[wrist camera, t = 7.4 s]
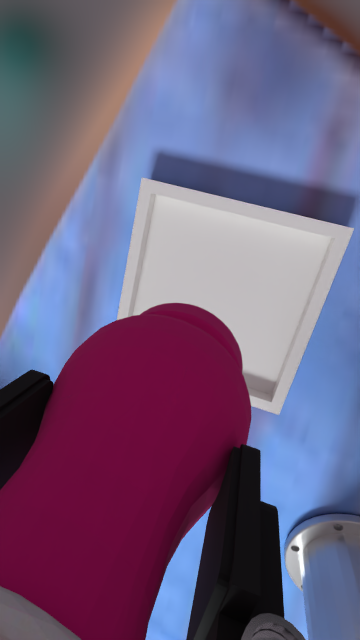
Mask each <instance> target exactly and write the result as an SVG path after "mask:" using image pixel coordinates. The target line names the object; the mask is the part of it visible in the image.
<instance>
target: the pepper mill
mask: <svg viewBox="0 0 360 640" xmlns="http://www.w3.org/2000/svg"><path fill="white" fill-rule="evenodd" d="M242 371H243V363H242V355H241V351H240V348H239V345H238V343H237V341H236V339H235V337H234V336H233V334H232V332H231V331H230V329H229V328H228V327H227V326H226V325H225V324H224V323H223V322H222V321H221V320H220V319H219V318H217V317H216V316H215V315H214V314H212V313H210V312H209V311H207V310H205V309H203V308H200V307H198V306H194V305H191V304H185V303H164V304H160V305H157V306H154V307H151V308H149V309H148V310H146V311H144V312H142V313H141V314H140V315H134V316H130V317H126V318H123V319H119V320H116V321H114V322H112V323H110V324H108V325H106V326H104V327H102V328H100V329H99V330H98V331H97V332H95V333H94V334H93V335H92V336H91V337H89V338H88V339H87V340H86V341H85V342H84V343H83V344H82V345H81V346H79V347H78V348H77V349H76V350H75V351H74V353H73V354H72V355H71V357H70V358H69V359H68V361H67V362H66V363H65V365H64V367H63V369H62V371H61V372H60V374H59V376H58V378H57V380H56V381H55V383H54V385H53V391H52V393H51V395H50V397H49V400H48V402H47V404H46V408H45V411H44V415H43V418H42V421H41V425H40V428H39V432H38V434H37V437H36V439H35V442H34V444H33V445H32V447H31V449H30V450H29V452H28V454H27V455H26V457H25V459H24V461H23V462H22V464H21V466H20V467H19V469H18V470H17V471H16V472H15V473H14V474H13V476H12V477H11V478H10V479H9V480H8V481H7V483H6V484H5V485H4V486H3V487H2V489H1V490H0V640H145V638H146V633H147V628H148V622H149V619H150V616H151V613H152V610H153V607H154V604H155V601H156V598H157V595H158V592H159V589H160V586H161V583H162V580H163V577H164V574H165V571H166V568H167V566H168V564H169V562H170V560H171V558H172V556H173V555H174V553H175V551H176V549H177V547H178V545H179V544H180V542H181V540H182V539H183V537H184V536H185V535H186V534H187V532H188V531H189V530H190V529H191V528H192V527H193V526H194V525H195V524H196V522H197V521H198V520H199V519H200V518H201V517H202V516H203V515H204V514H205V513H206V511H207V510H208V509H209V508H210V507H211V506H212V505H213V503H214V501H215V500H216V498H217V495H218V493H219V490H220V488H221V485H222V481H223V478H224V475H225V472H226V469H227V465H228V462H229V458H230V455H231V451H232V449H233V447H234V446H235V447H238V448H240V446H241V444H244V445H246V444H247V439H248V433H249V428H250V423H251V402H250V396H249V392H248V389H247V385H246V382H245V379H244V376H243V374H242Z"/></svg>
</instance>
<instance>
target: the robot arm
mask: <svg viewBox="0 0 360 640" xmlns="http://www.w3.org/2000/svg"><path fill="white" fill-rule="evenodd" d="M52 391H53V382H52V381H50V377H49V375H47V374H44V373H41V372H38V371H35V370H30V371H28V372H27V373H25V374H24V375H22V376H20V377H19V378H17V379H16V380H14V381H13V382H11V383H10V384H8V385H7V386H5V387H3V388H2V389H0V490H1V489H2V487H3V486H4V485H5V484H6V483H7V481H8V480H9V479H10V478H11V477H12V476H13V474H14V473H15V472H16V471H17V470H18V469H19V467H20V466H21V464H22V462H23V461H24V459H25V457H26V455H27V454H28V452H29V450H30V449H31V447H32V445H33V444H34V442H35V439H36V437H37V434H38V432H39V428H40V425H41V421H42V418H43V415H44V411H45V408H46V404H47V402H48V400H49V397H50V395H51V393H52ZM284 556H285V565H286V569H287V571H288V574H289V576H290V577H291V579H292V580H293V582H294V583H295V584H296V586H297V587H298V588H299V589H300V590H301V591H303V597H304V606H305V614H306V623H307V632H308V640H360V516H355V515H349V514H326V515H321V516H317V517H313V518H311V519H309V520H306V521H304V522H303V523H301V524H300V525H298V526H297V527H296V528H295V529H294V530H293V531H292V532H291V533H290V535H289V536H288V538H287V540H286V543H285V547H284ZM186 640H305V638H304V637H303V635H302V634H301V633H300V632H299V631H298V630H297V629H296V628H295V627H294V626H293V624H291V623H290V622H288V621H287V620H285V619H284V605H283V588H282V571H281V555H280V538H279V521H278V511H277V508H276V507H275V506H273V505H270V504H267V503H265V502H262V501H260V450H258V449H256V448H253V447H250V446H247V445H244V444H241V446H240V448H238V447H235V446H234V447H233V449H232V451H231V455H230V458H229V462H228V465H227V469H226V472H225V475H224V478H223V481H222V485H221V488H220V490H219V493H218V495H217V498H216V500H215V501H214V503H213V505H212V507H211V510H210V513H209V517H208V521H207V526H206V532H205V537H204V543H203V549H202V554H201V560H200V566H199V571H198V577H197V583H196V588H195V594H194V600H193V605H192V611H191V616H190V622H189V628H188V633H187V639H186Z"/></svg>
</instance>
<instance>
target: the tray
mask: <svg viewBox="0 0 360 640" xmlns="http://www.w3.org/2000/svg"><path fill="white" fill-rule="evenodd" d="M353 230H354V228H350V227H346V226H341V225H337V224H333V223H329V222H325V221H321V220H317V219H312V218H308V217H304V216H300V215H296V214H292V213H287V212H283V211H279V210H275V209H271V208H267V207H262V206H258V205H254V204H250V203H246V202H242V201H238V200H233V199H229V198H225V197H221V196H217V195H213V194H208V193H204V192H200V191H196V190H192V189H188V188H183V187H179V186H175V185H171V184H167V183H163V182H159V181H154V180H150V179H146V178H142V180H141V185H140V191H139V197H138V202H137V208H136V214H135V220H134V225H133V231H132V237H131V242H130V248H129V254H128V259H127V265H126V271H125V276H124V282H123V288H122V293H121V299H120V305H119V311H118V316H117V320H119V319H123V318H126V317H130V316H134V315H140V314H141V313H142V312H144V311H146V310H148V309H149V308H151V307H154V306H157V305H160V304H164V303H185V304H191V305H194V306H198V307H200V308H203V309H205V310H207V311H209V312H210V313H212V314H214V315H215V316H216V317H217V318H219V319H220V320H221V321H222V322H223V323H224V324H225V325H226V326H227V327H228V328H229V329H230V331H231V332H232V334H233V336H234V337H235V339H236V341H237V343H238V345H239V348H240V351H241V355H242V363H243V371H242V374H243V376H244V379H245V382H246V385H247V389H248V392H249V396H250V402H251V406H253V407H256V408H259V409H262V410H265V411H268V412H271V413H274V414H277V415H279V413H280V411H281V408H282V406H283V403H284V401H285V399H286V396H287V394H288V391H289V389H290V386H291V384H292V381H293V379H294V376H295V374H296V371H297V369H298V366H299V364H300V361H301V359H302V356H303V354H304V351H305V349H306V347H307V344H308V342H309V339H310V337H311V334H312V332H313V329H314V327H315V324H316V322H317V319H318V317H319V314H320V312H321V309H322V307H323V304H324V302H325V300H326V297H327V295H328V292H329V290H330V287H331V285H332V282H333V280H334V277H335V275H336V272H337V270H338V267H339V265H340V262H341V260H342V257H343V255H344V253H345V250H346V248H347V245H348V243H349V240H350V238H351V235H352V233H353Z"/></svg>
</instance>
